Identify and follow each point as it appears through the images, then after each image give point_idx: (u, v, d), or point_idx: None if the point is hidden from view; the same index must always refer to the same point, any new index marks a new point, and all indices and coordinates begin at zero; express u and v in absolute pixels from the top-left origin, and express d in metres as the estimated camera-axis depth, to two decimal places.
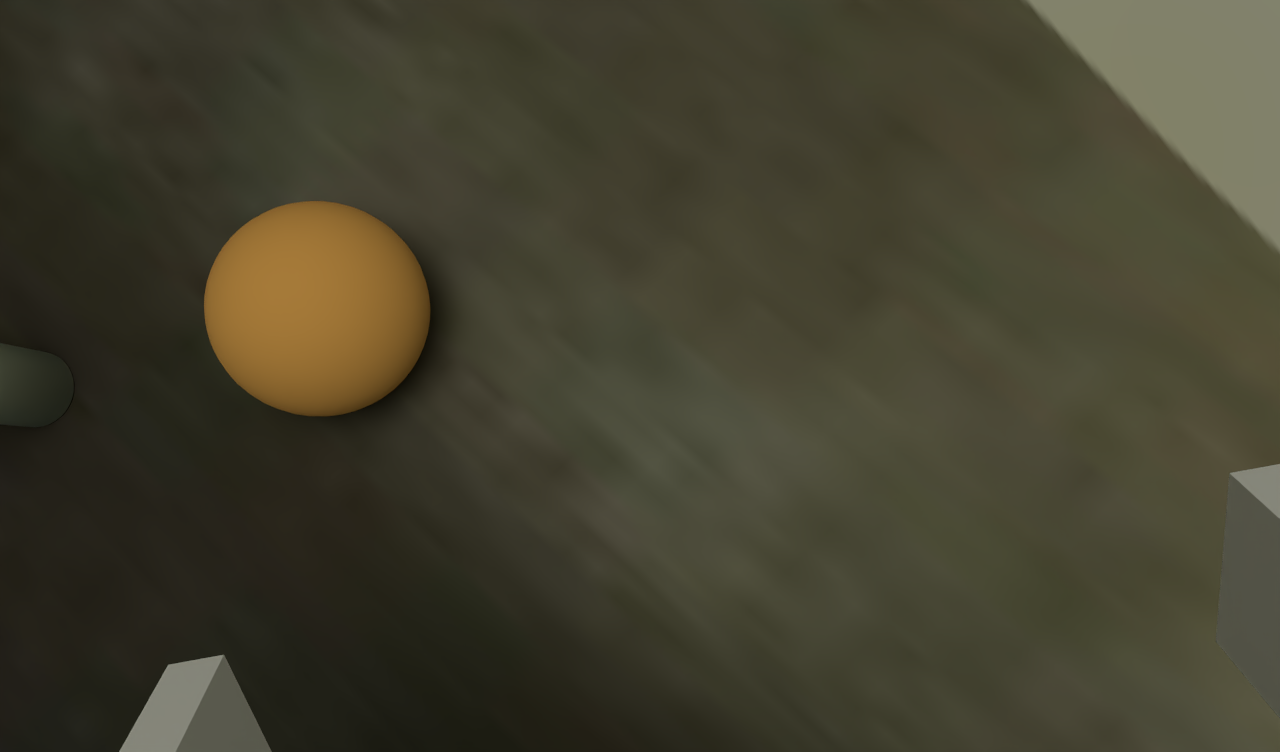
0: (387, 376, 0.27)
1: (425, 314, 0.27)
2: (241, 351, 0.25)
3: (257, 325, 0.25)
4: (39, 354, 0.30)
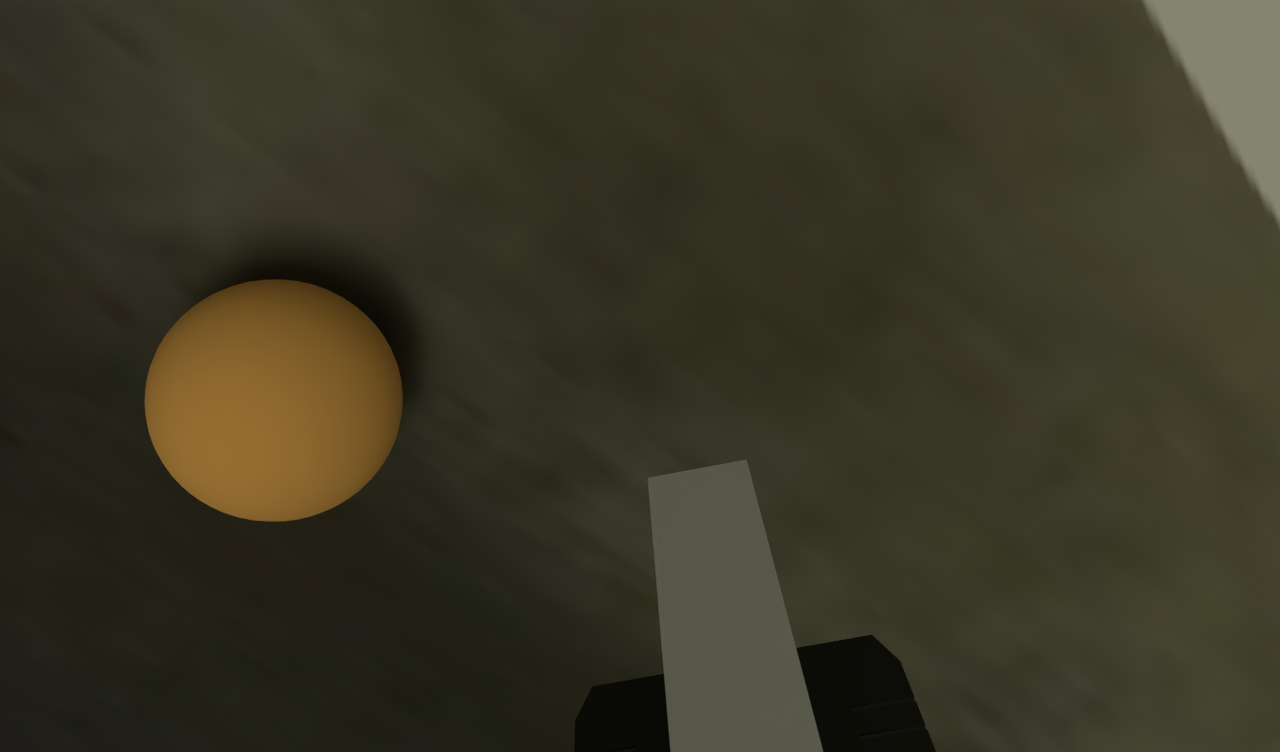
0: (371, 478, 0.25)
1: (400, 403, 0.25)
2: (213, 503, 0.23)
3: (228, 491, 0.22)
4: None
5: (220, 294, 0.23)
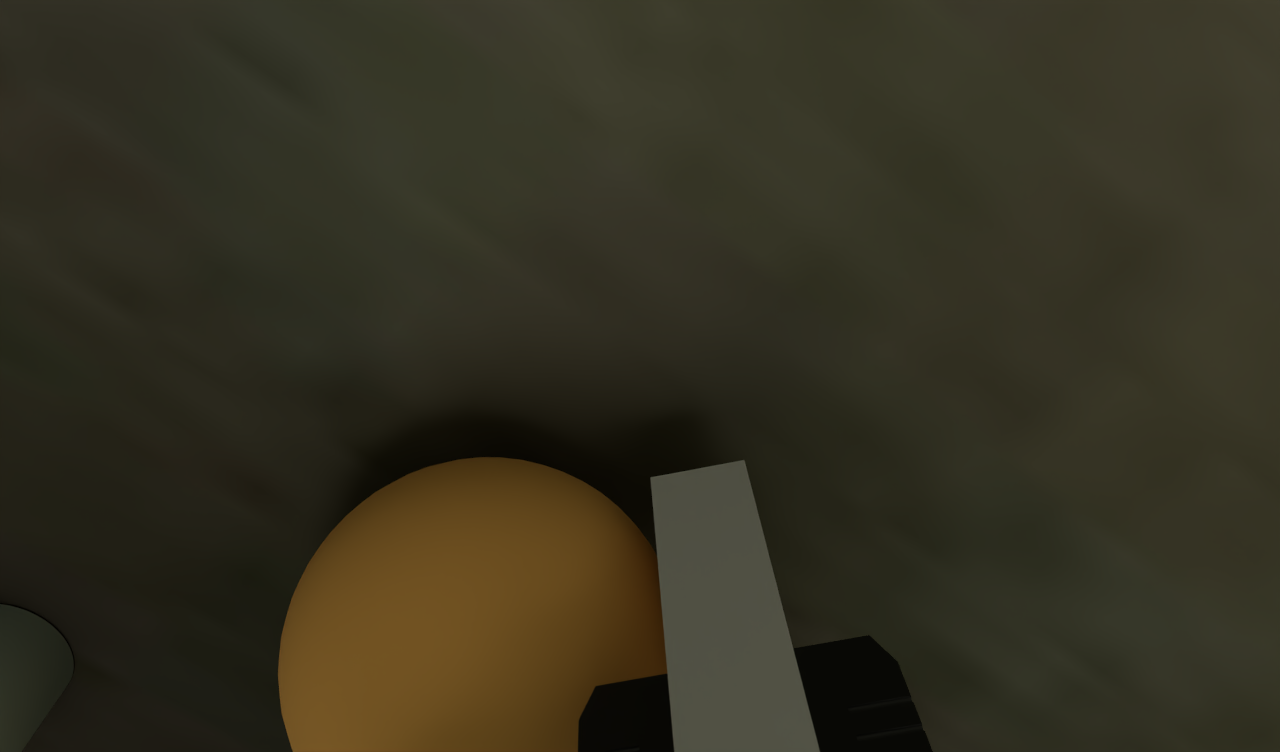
0: None
1: None
2: None
3: None
4: None
5: (397, 500, 0.14)
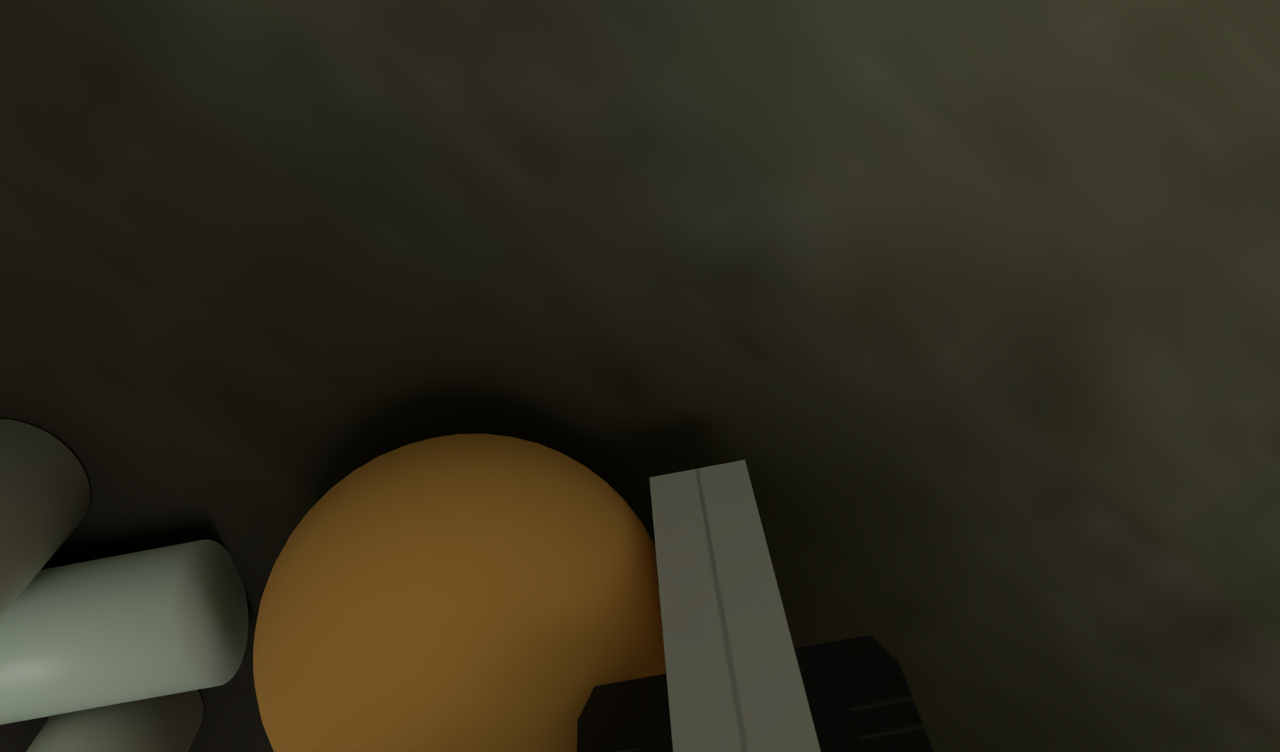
0: None
1: None
2: None
3: None
4: (114, 615, 0.15)
5: (444, 450, 0.14)
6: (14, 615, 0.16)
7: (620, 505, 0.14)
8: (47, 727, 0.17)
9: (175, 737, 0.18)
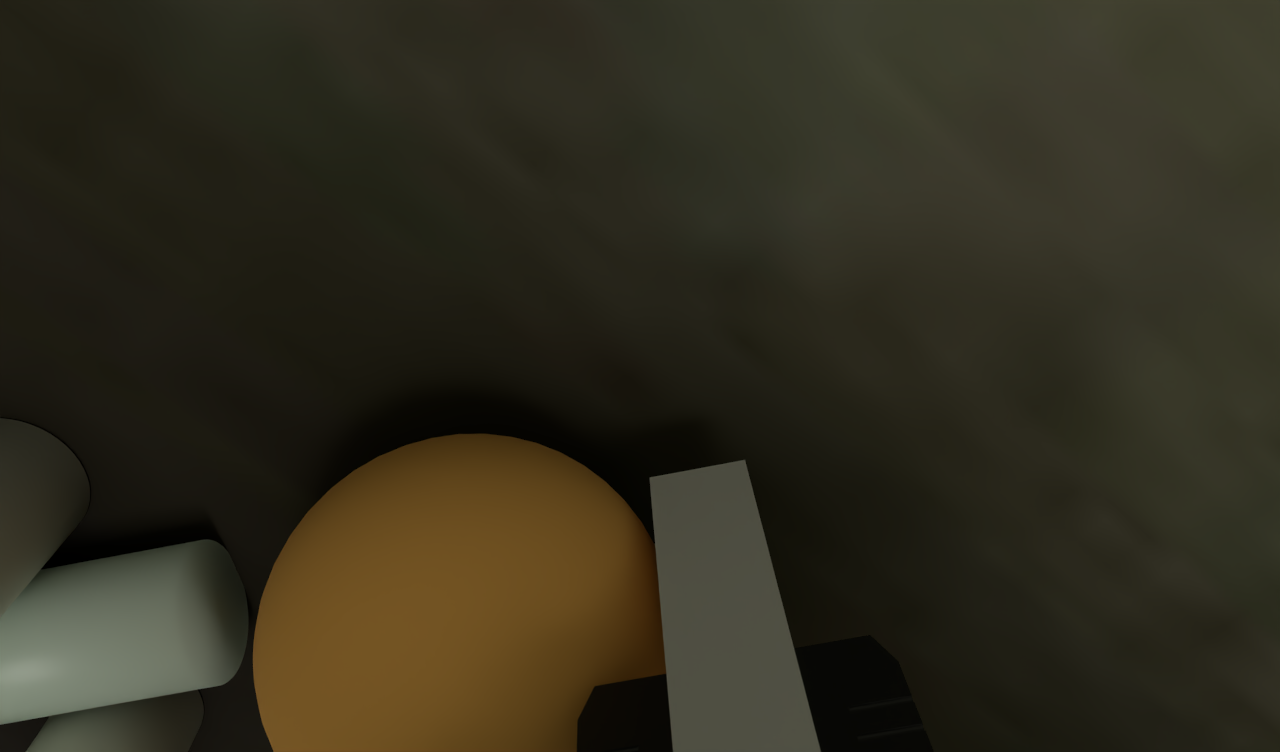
0: None
1: None
2: None
3: None
4: (114, 615, 0.15)
5: (444, 451, 0.14)
6: (14, 616, 0.16)
7: (620, 505, 0.14)
8: (47, 727, 0.17)
9: (175, 737, 0.18)
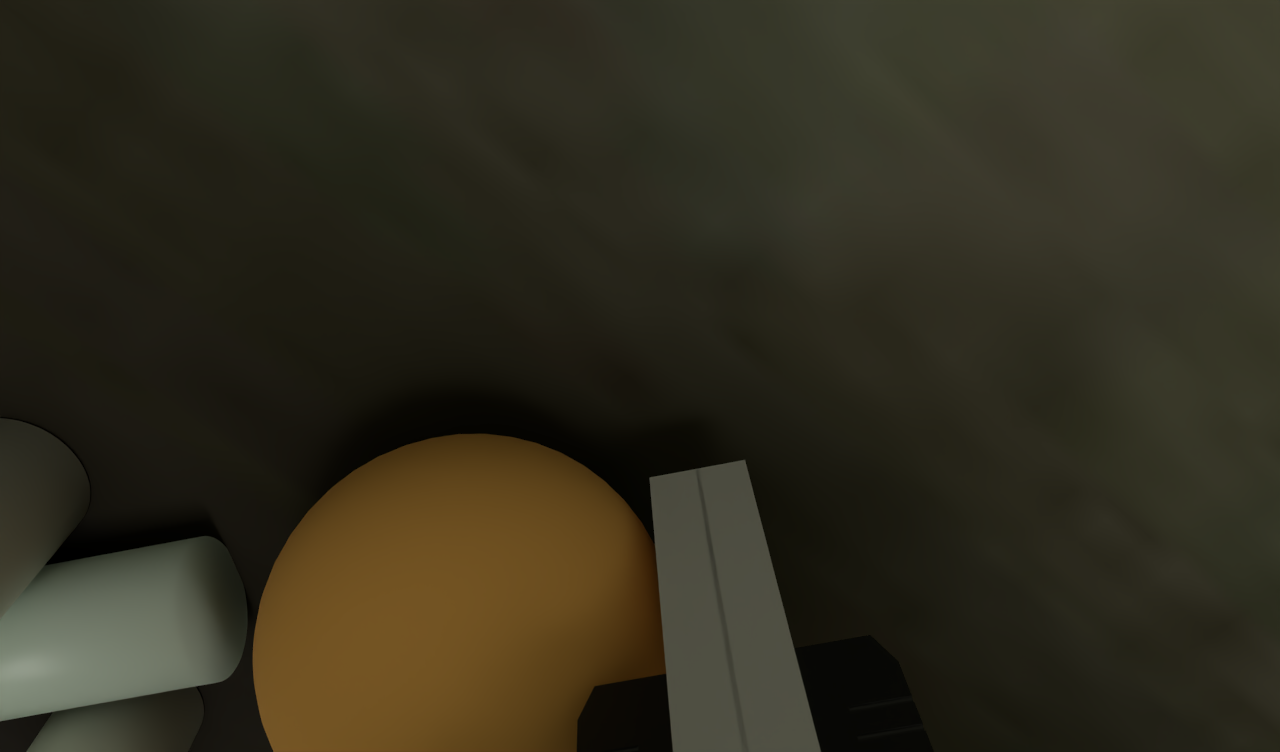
0: None
1: None
2: None
3: None
4: (113, 607, 0.15)
5: (444, 451, 0.14)
6: (14, 608, 0.16)
7: (620, 505, 0.14)
8: (47, 727, 0.17)
9: (175, 737, 0.18)
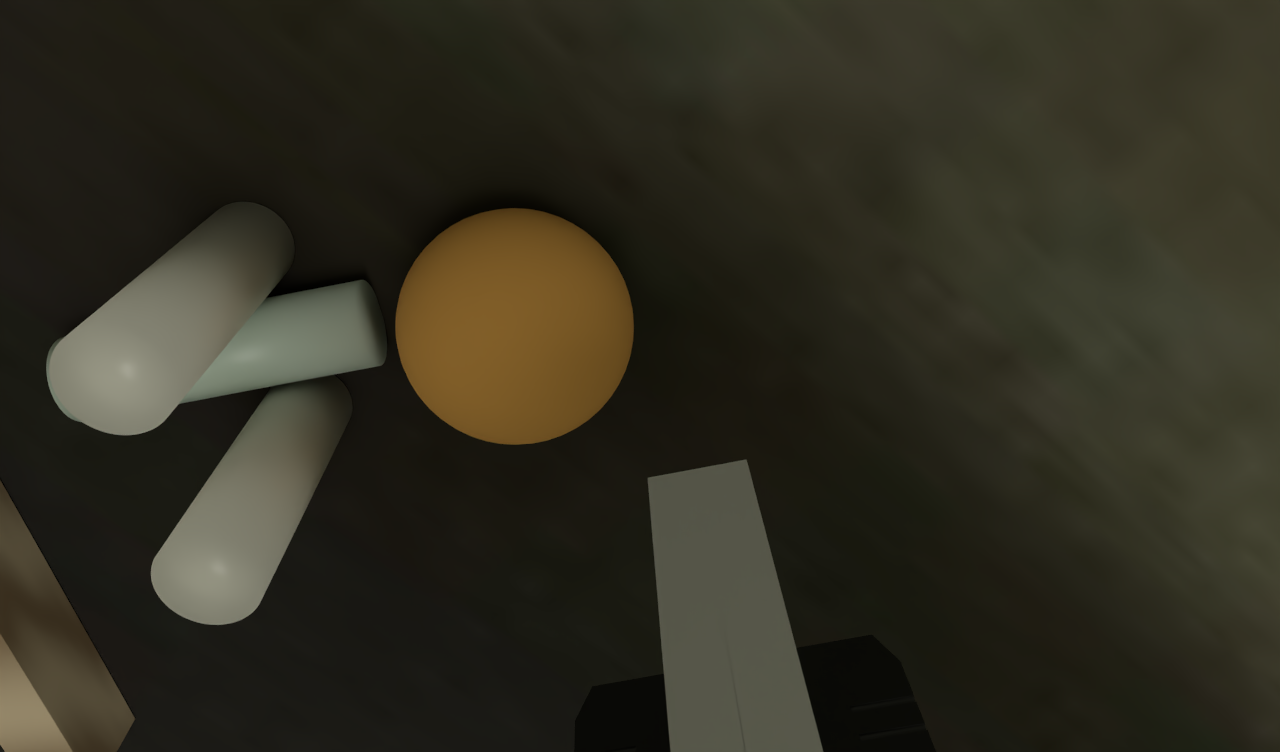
0: None
1: (503, 412, 0.23)
2: None
3: None
4: (319, 313, 0.26)
5: (503, 212, 0.24)
6: (258, 315, 0.26)
7: (602, 252, 0.24)
8: (267, 397, 0.27)
9: (340, 412, 0.28)
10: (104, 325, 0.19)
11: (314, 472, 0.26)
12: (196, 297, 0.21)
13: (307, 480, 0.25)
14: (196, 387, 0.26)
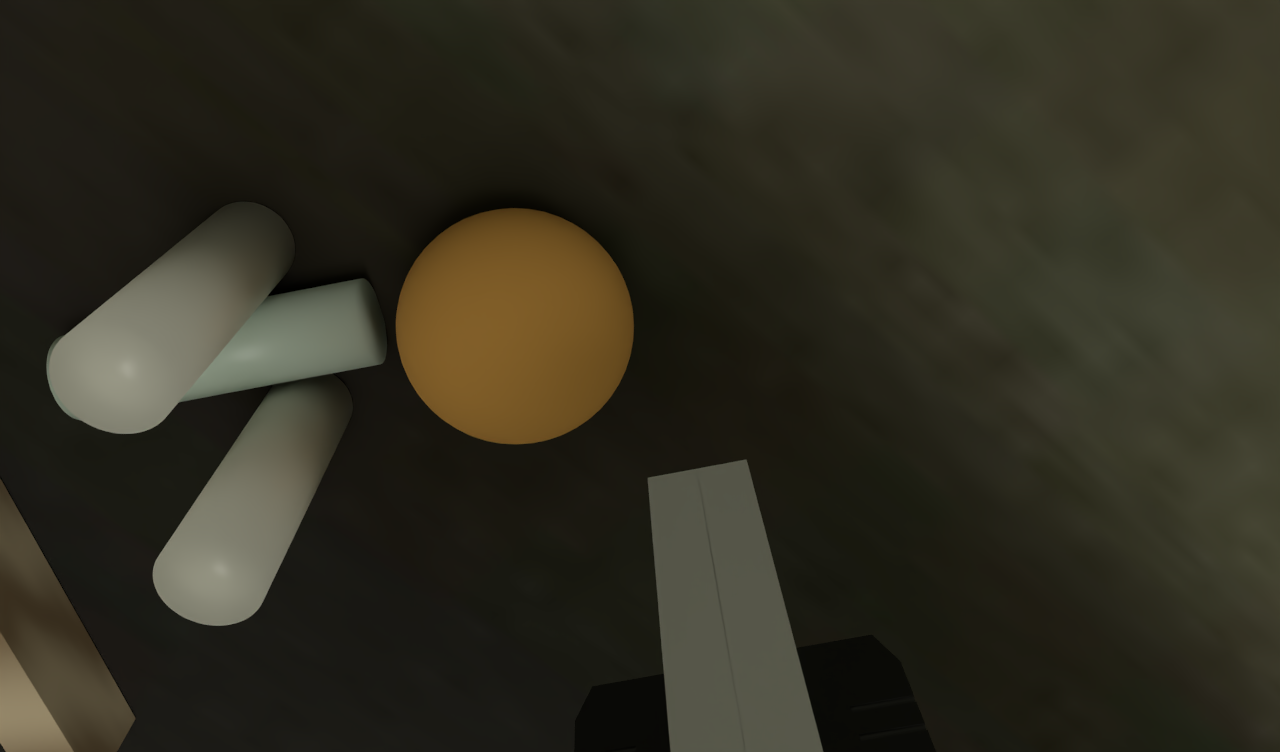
0: None
1: (503, 411, 0.23)
2: None
3: None
4: (319, 310, 0.26)
5: (503, 212, 0.24)
6: (258, 313, 0.26)
7: (602, 252, 0.24)
8: (267, 397, 0.27)
9: (341, 412, 0.28)
10: (103, 323, 0.19)
11: (315, 472, 0.26)
12: (195, 296, 0.21)
13: (308, 480, 0.25)
14: (195, 384, 0.26)
